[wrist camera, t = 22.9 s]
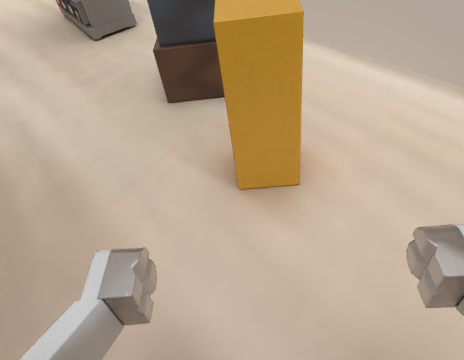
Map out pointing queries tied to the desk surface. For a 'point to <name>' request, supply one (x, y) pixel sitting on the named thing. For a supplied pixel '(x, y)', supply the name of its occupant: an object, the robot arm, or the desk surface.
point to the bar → (262, 87)
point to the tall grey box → (98, 15)
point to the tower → (186, 49)
